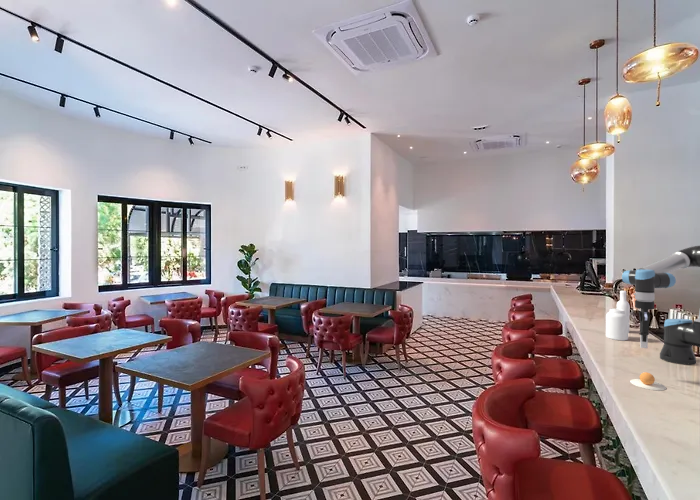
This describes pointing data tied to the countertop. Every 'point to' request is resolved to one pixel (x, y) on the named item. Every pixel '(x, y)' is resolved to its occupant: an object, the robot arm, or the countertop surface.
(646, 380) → the ball
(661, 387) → the white plate
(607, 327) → the white container
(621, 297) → the bottle
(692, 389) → the countertop surface
